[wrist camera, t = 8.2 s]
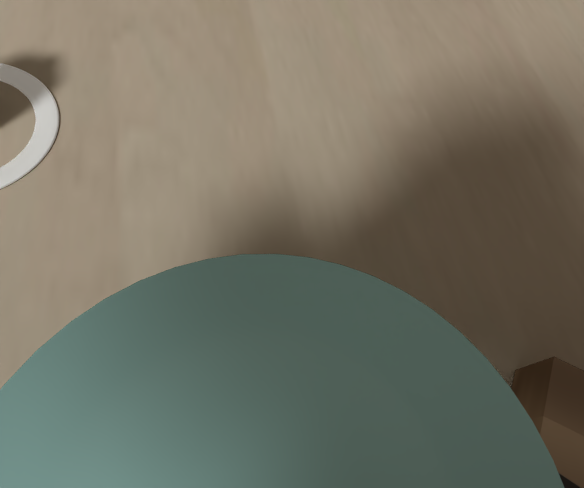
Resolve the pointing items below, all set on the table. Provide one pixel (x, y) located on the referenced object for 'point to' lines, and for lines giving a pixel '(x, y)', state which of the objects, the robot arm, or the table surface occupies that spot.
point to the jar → (265, 389)
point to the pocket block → (556, 411)
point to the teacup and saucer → (43, 128)
